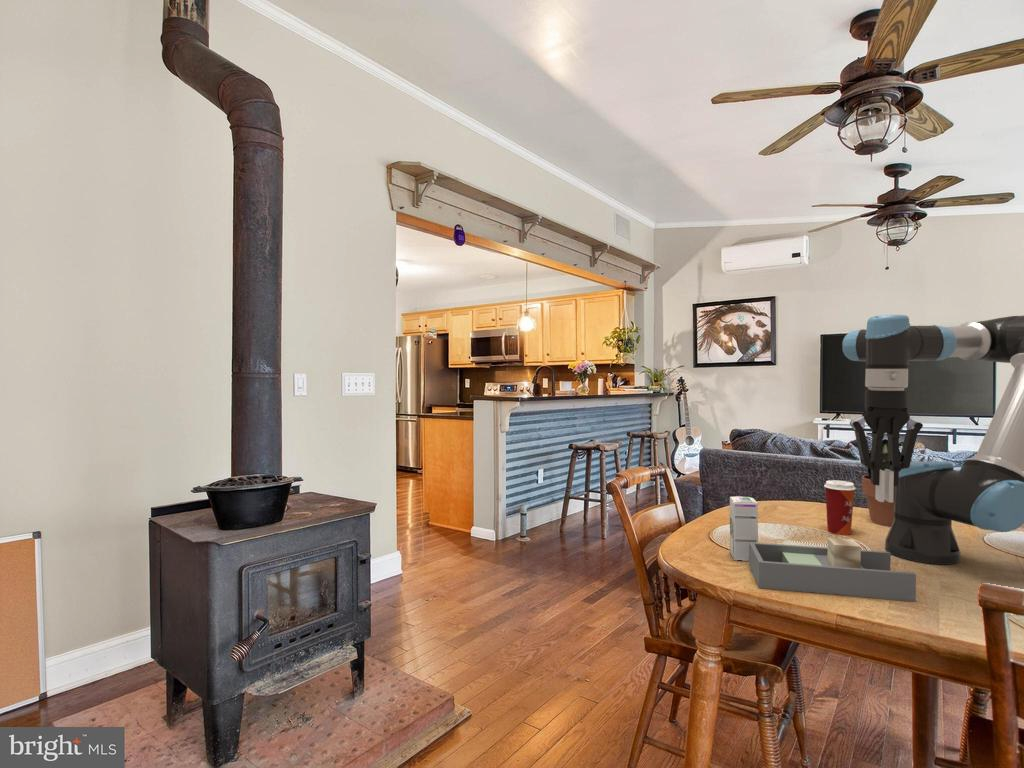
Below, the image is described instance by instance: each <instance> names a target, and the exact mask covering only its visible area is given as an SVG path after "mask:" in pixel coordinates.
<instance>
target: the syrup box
mask: <svg viewBox="0 0 1024 768" xmlns="http://www.w3.org/2000/svg"><path fill="white" fill-rule="evenodd" d="M758 504H759V503H758V502H757V501H756V500H755V498H754V497H752V496H751V497H750V496H742V495H741V496H739V495H738V496H737V495H736V496H729V554H730V555H731V558H732V559H733V561H737V560H742V561H741V562H749V542H753V543H759V525H758V523H759V521H758V519H759V516H758V515H759V514H758V511H759V510H758V509H759V508H758V507H759V506H758Z"/></svg>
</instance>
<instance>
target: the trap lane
mask: <svg viewBox="0 0 1024 768" xmlns="http://www.w3.org/2000/svg"><path fill="white" fill-rule="evenodd" d="M827 553H828V547H824V546H823V547H822V546H810V545H807V546H806V545H795V544H793V545H792V544H780V543H778V544H777V543H769V542H768V543H766V542H758V543H753V542H749V561H748V567H749V566H750V567H749V568H750V571H751V573H753V574H752V576H753V578H754V580H755V582H756V585H757V587H758V589H765V590H766V589H767V590H769V589H770V590H777V591H778V590H780V591H791V592H800V591H802V593H811V592H815V593H814V594H825V595H834V594H835V596H836V594H838V596H847V597H858V598H867V599H870V598H871V599H879V600H880V599H881V600H882V599H884V600H891V601H892V600H893V601H903V602H904V601H905V602H914V601H915V602H917V600H916V599H917V573H916V572H912V571H900V570H899V571H898V570H897V571H896V570H891V562H892V561H891V559H892V558H891V556H892V554H891V553H890V552H887V551H882V550H868V549H867V550H866V549H861V568H848V567H835V566H832V565H831V564H830V563H829V562H828V560H827Z"/></svg>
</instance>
